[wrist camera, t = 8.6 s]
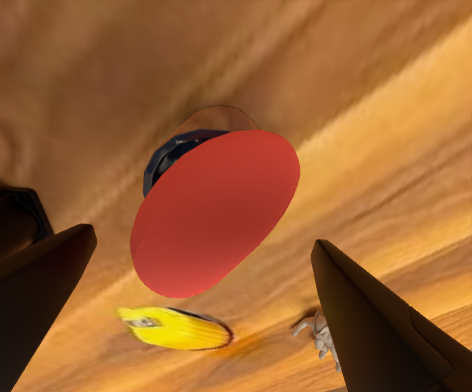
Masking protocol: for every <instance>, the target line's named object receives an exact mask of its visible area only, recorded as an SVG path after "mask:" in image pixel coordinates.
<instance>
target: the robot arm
mask: <svg viewBox="0 0 472 392" xmlns="http://www.w3.org/2000/svg"><path fill="white" fill-rule="evenodd" d="M96 246H97V238H96V235H95V232H94V228H93V226H92V225H90V224H78V225H76V226H73V227H71V228H69V229H67V230H64V231H62V232H60V233H58V234H56V235H53V232H52V230H51V228H50V225H49V223H48V221H47V218H46V216H45V214H44V211H43V209H42V207H41V204H40V202H39V200H38V197H37V195H36V193H35V192H34V191H32V190H29V189H15V188H4V187H0V392H11V391H12V389H13V387H14V386H15V384H16V382H17V381H18V379H19V378H20V376H21V374H22V373H23V371H24V370H25V368H26V366H27V365H28V363H29V362H30V360H31V358H32V357H33V355H34V353H35V352H36V350H37V349H38V347H39V345H40V344H41V342H42V341H43V339H44V337H45V336H46V334H47V332H48V331H49V329H50V328H51V326H52V324H53V323H54V321H55V320H56V318H57V316H58V315H59V313H60V311H61V310H62V308H63V307H64V305H65V303H66V302H67V300H68V299H69V297H70V295H71V294H72V292H73V290H74V289H75V287H76V286H77V284H78V282H79V280H80V278H81V277H82V275H83V273H84V271H85V268H86V266H87V264H88V262H89V260H90V258H91V256H92V254H93V252H94V250H95V248H96ZM311 262H312V267H313V272H314V277H315V282H316V288H317V292H318V296H319V300H320V303H321V306H322V309H323V313H324V316H325V319H326V322H327V325H328V329H329V332H330V335H331V338H332V341H333V345H334V348H335V351H336V354H337V357H338V361H339V364H340V367H341V370H342V374H343V377H344V380H345V383H346V386H347V390H348V392H472V352H471V351H470V350H469V349H467V348H466V347H464V346H463V345H462V344H460V343H459V342H457V341H456V340H455V339H453V338H452V337H451V336H449V335H448V334H446V333H445V332H444V331H442V330H441V329H440V328H438V327H437V326H436V325H434V324H433V323H432V322H431V321H429V320H428V319H427V318H425V317H424V316H423V315H421V314H420V313H419V312H418V311H416V310H415V309H414V308H413V307H411V306H409V304H407V303H406V302H405V301H404V300H402V299H401V298H400V297H399V296H397V295H396V294H395V293H394V292H392V291H391V290H390V289H389V288H387V287H386V286H385V285H384V284H382V283H381V282H380V281H378V280H377V279H376V278H375V277H373V276H372V275H371V274H370V273H368V272H367V271H366V270H365V269H363V268H362V267H361V266H360V265H358V264H357V263H356V262H354V261H353V260H352V259H351V258H349V257H348V256H347V255H346V254H344V253H343V252H342V251H341V250H339V249H338V248H337V247H336V246H334V245H333V244H332V243H331V242H329V241H328V240H323V239H317V240H316V241H315V244H314V247H313V250H312V253H311Z"/></svg>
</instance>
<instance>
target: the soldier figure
mask: <svg viewBox="0 0 472 392" xmlns="http://www.w3.org/2000/svg"><path fill="white" fill-rule="evenodd" d="M308 325H309V326H310V327H311V328H312V329H313V332H314V336H316V339H315V342H314V344H315V346H316V348H317V349H318V350H320V352H319V358H320V359H323V358H324V357H325V354H326V353H327V352H328V351H329V349H330V351H331V353H332V355H333V358H334V360H335V361H336V362H337V363H336V371H337V372H340V371H341V367H340V364H339V361H338V357H337V354H336V351H335V348H334V345H333V341H332V338H331V335H330V332H329V329H328V325H327V322H326V319H325V316H324V315H323V314H322V313H320V311H319V310H317V312H316V313H315V317H306V318H304V319H303V320H302V321H301V322H300V323H299V324H298V325H297V327H296V328H294V330H293V332H292V334H293V335H294V336H295V335H296V336H297V334H298V332H299V330H301V329H303V328H304V327H306V326H308ZM324 343H325V344H326V345H327V346H326V345H325V344H324ZM328 346H329V347H330V348H329V347H328Z"/></svg>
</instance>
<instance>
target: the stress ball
mask: <svg viewBox="0 0 472 392" xmlns="http://www.w3.org/2000/svg"><path fill="white" fill-rule="evenodd" d="M299 177H300V165H299V160H298V157H297V155H296V153H295V151H294V149H293V147H292V146H291V144H290V143H289V142H288V141H287V140H286V139H285V138H283V137H282V136H280V135H278V134H274V133H270V132H266V131H262V130H245V131H234V132H231V133H228V134H225V135H222V136H219V137H216V138H213V139H210V140H207V141H206V142H204V143H202V144H201V145H199V146H197V147H196V148H194V149H192V150H190V151H189V152H187V153H185V154H184V155H183V156H182V157H181V158H180V159H179V160H177V161H176V162H175V163H174V164H173V165H172V166H171V167H170V168H169V169H168V170H167V171H165V172H164V173H163V175H162V176H161V177H160V178H159V180H158V181H157V182H156V183H155V185H154V186H153V187H152V189H151V190H150V192H149V193H148V194H147V196H146V198H145V199H144V201H143V203H142V204H141V206H140V208H139V210H138V213H137V216H136V219H135V222H134V226H133V229H132V233H131V239H130V250H131V255H132V259H133V263H134V267H135V270H136V272H137V274H138V276H139V278H140V279H141V281H142V282H143V283H144V284H145V285H146V286H147V287H148V288H150V289H151V290H152V291H154V292H156V293H158V294H160V295H163V296H166V297H170V298H188V297H191V296H195V295H198V294H200V293H202V292H204V291H206V290H207V289H209V288H211V287H212V286H214V285H215V284H217V283H218V282H219V281H220V280H222V279H223V278H224V277H225V276H226V275H227V274H228V273H229V272H230V271H231V270H232V269H234V268H235V267H236V266H237V265H238V264H239V263H240V262H241V261H242V260H244V259H245V258H246V257H247V256H248V255H249V254H250V253H251V252H252V251H253V250H254V249H255V248H256V247H257V246H259V245H260V243H261V242H262V241H263V240H264V239H265V238H266V237H267V235H268V234H269V233H270V232H271V231H272V230H273V229H274V227H275V226H276V224H277V223H278V221H279V220H280V219H281V217H282V216H283V214H284V213H285V211H286V209H287V207H288V206H289V204H290V202H291V200H292V198H293V196H294V194H295V191H296V188H297V185H298V181H299Z"/></svg>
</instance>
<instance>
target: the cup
mask: <svg viewBox="0 0 472 392" xmlns="http://www.w3.org/2000/svg"><path fill="white" fill-rule="evenodd" d="M245 130H260V129H259V127H258V126H257V124H256V123H255V122H254V121H253V120H252V119H251V118H250V117H249V116H248V115H246V114H245V113H243V112H242V111H240V110H237V109H235V108H232V107H227V106H212V107H207V108H204V109H202V110H199V111H198V112H196V113H194V114H193V115H192V116H191V117H190V118H188V119H187V120H186V121H185V122H184V123H183V124H182V125H181V126H180V127H179V128H178V129H177V130H176V131H175V132H174V133H173V134H172V135H171V136H170V137H169V138H168V139H167V140H166V141H165V142H164V143H163V144H162V145H161V146H160V147H159V148H158V149H157V150H156V151H155V152H154V154H153V155H152V157H151V159H150V161H149V163H148V165H147V167H146V169H145V172H144V185H143V194H144V197H145V198H146V196H147V194H148V193H149V192H150V190H151V189H152V187H153V186H154V185H155V183H156V182H157V181H158V180H159V178H160V177H161V176H162V175H163V173H164V172H165V171H167V170H168V169H169V168H170V167H171V166H172V165H173V164H174V163H175V162H176V161H177V160H179V159H180V158H181V157H182V156H183V155H184V154H185V153H187V152H189V151H190V150H192V149H194V148H196V147H197V146H199V145H201V144H202V143H204V142H206V141H207V140H210V139H213V138H216V137H219V136H222V135H225V134H228V133H231V132H234V131H245Z"/></svg>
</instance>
